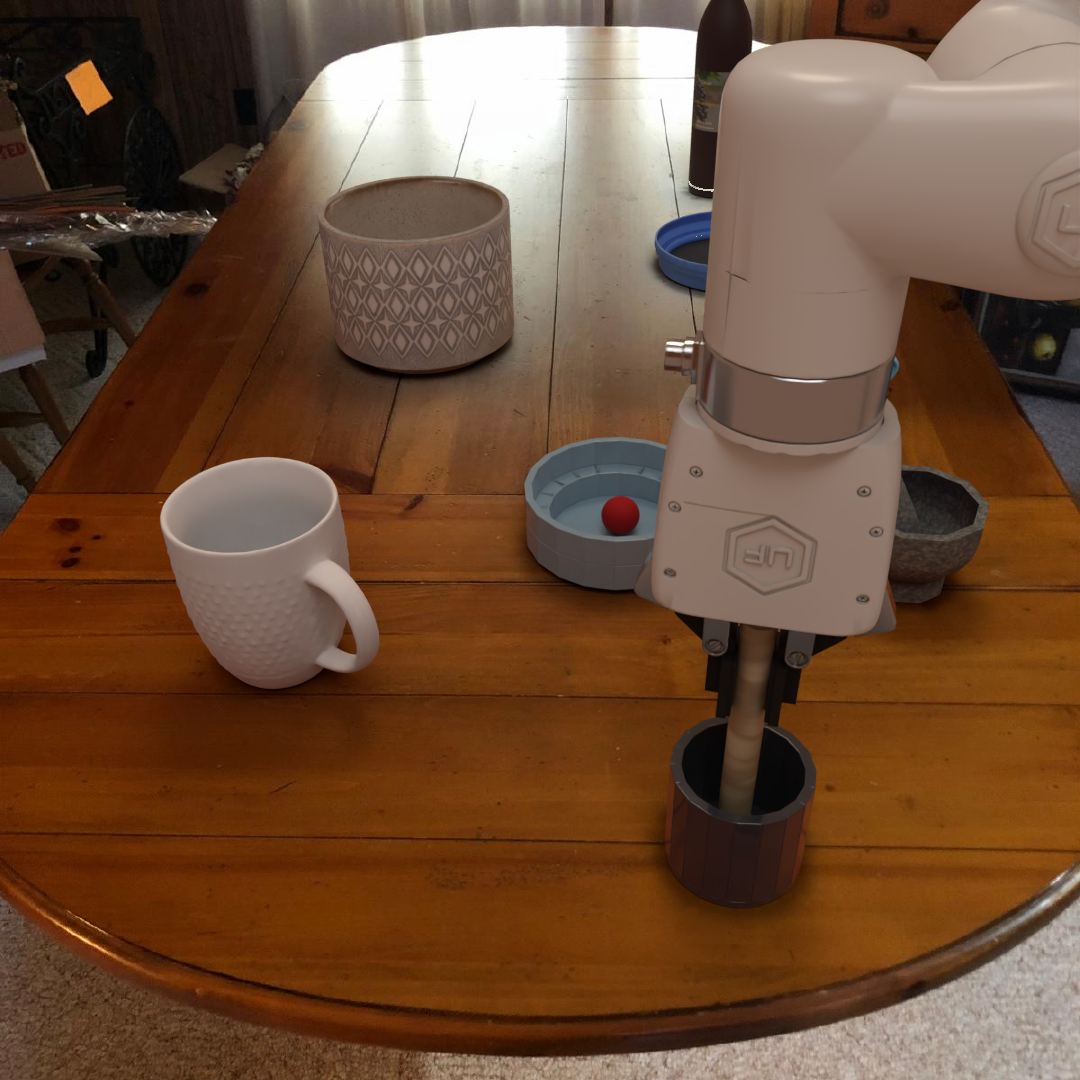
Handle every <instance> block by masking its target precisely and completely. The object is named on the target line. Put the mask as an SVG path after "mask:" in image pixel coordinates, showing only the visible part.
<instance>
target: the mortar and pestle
mask: <svg viewBox="0 0 1080 1080" xmlns="http://www.w3.org/2000/svg"><path fill="white" fill-rule="evenodd" d="M990 506H991V505H990V503H989V502H988V501H987V500H986V499H985V498H984V496H982V495H981V493H980V492H979V491H978V490H977V489H976V488H975V487H974V486H973V484H971V482H970V481H968V480H966V479H963V478H960V477H958V476H956V475H953V474H950V473H948V472H945V471H943V470H940V469H937V468H935V467H932V466H929V465H928V466H926V465H905V464H901V483H900V494H899V504H898V512H897V519H896V527H895V534H894V541H893V548H892V554H891V560H890V566H889V572H888V580H889V583H890V587H891V590H892V594H893V597H894V601H895V603H907V604H908V603H909V604H922V603H924V602H927V601H929V600H931V599H933V598H936V597H938V596H940V595H941V592H942V589H943V586H944V583H945V579H946V577H947V576H950V575H953V574H955V573H957V572H959V571H961V569H963V568H964V567H965V566H966V565H968V564H969V563H970V562H971V561H972V559H973V558H974V555H975V553H976V552H977V550H978V548H979V546H980V543H981V540H982V537H983V532H984V528H985V525H986V521H987V517H988V513H989V509H990Z"/></svg>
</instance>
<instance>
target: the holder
mask: <svg viewBox="0 0 1080 1080" xmlns="http://www.w3.org/2000/svg"><path fill="white" fill-rule="evenodd" d="M728 720H729V716H726V719H724V718H718V717H715V716H714V717H711V718H706V719H703V720H701V721H700V722H698V723H696V724H695V725H693V726H691V727H689V728H688V729H686V730H685V731H684V732H683V733H682V734H681V736H680V737H679V738H678V740H677V741H676V743H675V744H674V745H673V746H672V752H671V757H670V762H669V773H668V786H667V787H668V788H667V803H666V815H665V816H666V817H665V818H666V819H665V829H664V830H665V831H664V848H665V850H664V851H665V857H666V860H667V863H668V866H669V868H670V869H671V871H672V873H673V874H674V876H675V877H676V879H677V880H678V881H679V882H680V883H681V884H682V885H683V886H684V887H685V888H686V889H687V890H688V891H689V892H691V893H692V894H694V895H696V896H697V897H699V898H700V899H703V900H705V901H707V902H709V903H712V904H715V905H719V906H723V907H728V908H734V909H735V908H737V909H746V908H754V907H758V906H759V907H760V906H763V905H766V904H769V903H771V902H773V901H775V900H777V899H778V898H781V896H783V895H784V894H785V893H787V891H789V889H790V888H791V887H792V886H793V885H794V883H795V881H796V880H797V878H798V875H799V872H800V869H801V867H802V863H803V857H804V853H805V852H804V851H805V847H806V843H807V836H808V831H809V826H810V820H811V816H812V809H813V804H814V799H815V793H816V789H817V774H818V771H817V767H816V765H815V762H814V760H813V757H812V755H811V752H810V751H809V749H808V748H807V747H806V746H805V745H804V743H803V742H801V741H800V739H799V738H797V736H796V734H795V735H794V734H793V733H792V732H791V731H788V730H787V729H785V728H784V727H782V726H780V725H778V727H773V726H768V723H766V722H764V729H763V735H762V742H761V749H760V756H759V763H758V769H757V776H756V783H755V790H754V797H753V803H752V810H751V815H736V814H733V813H730V812H727V811H723V810H720V809H718V803H719V795H720V786H721V778H722V770H723V761H724V753H725V745H726V736H727V728H728Z"/></svg>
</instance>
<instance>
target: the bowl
mask: <svg viewBox="0 0 1080 1080" xmlns="http://www.w3.org/2000/svg"><path fill="white" fill-rule="evenodd" d="M711 217H712V210H711V211H702V212H695V213H691V214H687V215H683V216H680V217H676V218H675V219H672V220H670V221H668V222H666V223H665V224H663V225H662V226H660V227H659V228H658V229H657V230H656V232H655V235H654V242H653V244H654V248H655V253H656V256H657V258H658V266H659V268H660V270H661V271H662V273H663V274H664V275H665V276H666V277H668V278H669V279H671V281H674V282H675V283H678V284H681V285H683V286H685V287H688V288H692V289H696V290H699V291H705V292H706V281H707V269H708V257H709V244H710V231H711ZM701 235H702V236H701ZM696 236H697V237H696Z"/></svg>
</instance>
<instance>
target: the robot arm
mask: <svg viewBox="0 0 1080 1080" xmlns="http://www.w3.org/2000/svg"><path fill="white" fill-rule="evenodd" d="M711 206H712V207H711V211H712V217H711V231H710V244H709V257H708V269H707V281H706V291H705V296H704V305H703V306H704V310H703V311H704V313H703V319H702V320H703V321H702V329H701V330H700V329H697V330H696V334H695V336H694V337H693V336H686V337H685V338H684V339H679V338H667V340H666V343H665V349H664V358H663V370H664V372H673V373H680V374H681V376H682V377H690V385H689V386H688V387H687V389H686V390H685V392H684V393H683V396H682V398H681V399H680V401H679V403H678V406H677V409H676V412H675V415H674V418H673V421H672V425H671V429H670V432H669V436H668V440H667V444H666V445H667V449H666V454H665V459H664V465H663V471H662V478H661V485H660V493H659V500H658V508H657V517H656V526H655V535H654V545H653V548H652V549H651V551H650V553H649V554H648V556H647V558H646V559H645V561H644V563H643V565H642V566H641V568H640V570H639V572H638V576H637V579H636V583H635V586H634V589H633V591H634V594H635V595H636V596H638V597H639V598H641V599H643V600H645V601H647V602H650V603H652V604H654V605H656V606H658V607H661V608H662V609H665V610H666V611H667V610H671V611H673V612H674V615H676V617H677V618H678V619H679V620H680V621H681V622H682V623H683V624H684V625H685V626H686V627H688V629H689V630H690V631H691V632H693V633H694V634H695V635H696V637H698V638H699V639H700V640H701V648H702V650H703V652H704V653H705V654H706V655H707V662H706V669H705V680H704V681H705V682H704V691H705V692H711V693H717V699H716V706H715V716H714V718H715V717H718V718H724V719H726V716H729V717H730V713H731V706H732V698H733V690H734V682H735V674H736V666H737V657H738V636H739V628H740V625H739V624H740V623H743V624H750V625H757V626H764V627H771V628H778V633H777V640H776V647H775V651H774V653H773V660H772V667H771V673H770V680H769V687H768V694H767V701H766V708H765V716H764V722H766V723H768V726H773V727H778V726H779V722H780V716H781V712H782V711H781V710H782V706H783V705H782V703H783V704H789V705H794V706H795V705H797V700H798V699H797V698H798V694H799V688H800V683H801V682H800V681H801V676H802V670H803V669H805V668H807V667H808V666H809V665H810V664H811V661H812V657H814V656H816V655H818V654H820V653H822V652H824V651H826V650H828V649H830V648H831V647H833V646H835V645H837V644H840V643H841V642H844V641H845V640H846V639H848V638H849V637H853V636H854V638H856V637H863V636H870V635H876V634H877V635H878V634H884V633H889V632H892V631H894V630H895V629H896V627H897V605H896V602H895V601H894V597H893V594H892V590H891V587H890V583H889V580H888V572H889V566H890V560H891V554H892V548H893V541H894V534H895V527H896V519H897V512H898V504H899V494H900V483H901V465H902V461H903V459H902V458H903V449H902V431H901V424H900V420H899V415H898V411H897V408H896V407H895V405H894V404H893V403H892V402H891V401H890V400H889V399H888V395H889V390H890V389H889V388H890V384H891V380H892V379H891V374H892V368H893V363H894V358H895V357H896V352H897V346H898V343H899V338H900V337H899V336H900V331H901V327H902V321H903V316H904V311H905V305H906V301H907V295H908V291H909V290H908V289H909V285H910V280H911V278H913V279H919V280H925V281H930V282H935V283H939V284H946V285H950V286H955V287H960V288H965V289H969V290H974V291H980V292H983V293H988V294H994V295H999V296H1003V297H1009V298H1015V299H1022V300H1023V299H1025V300H1033V301H1056V302H1057V301H1060V302H1061V301H1069V300H1078V299H1080V0H980V1H978V2H977V3H976V4H974V6H973V7H972V8H971V9H970V10H968V11H967V12H966V14H964V15H963V16H962V17H961V18H960V19H959V20H958V21H957V22H956V23H955V25H953V26H952V28H951V29H950V30H949V31H948V32H947V33H946V35H944V37H943V38H942V39H941V40H940V41H939V43H938V44H937V46H936V47H935V48H934V50H933V51H932V52H931V54H930V56H929V57H928V58H927V60H926V61H925V60H924V58H923V59H922V58H921V57H920V56H918V55H916V54H914V53H911V52H909V51H907V50H904V49H902V48H899V47H896V46H893V45H888V44H884V43H878V42H874V41H873V42H872V41H864V40H855V39H842V38H841V39H839V38H813V39H799V40H797V39H796V40H789V41H784V42H779V43H778V42H777V43H774V44H771V45H768V46H765V47H762V48H761V47H760V48H759V49H756V50H753V51H752V53H750V54H749V55H748V56H746V57H745V58H744V59H742V60H741V61H740V62H738V64H737V65H736V66H735V68H734V69H733V70H732V72H731V73H730V75H729V77H728V79H727V81H726V83H725V86H724V89H723V93H722V98H721V106H720V114H719V124H718V138H717V151H716V164H715V178H714V191H713V198H712V205H711ZM890 379H891V380H890ZM887 394H888V395H887Z"/></svg>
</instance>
